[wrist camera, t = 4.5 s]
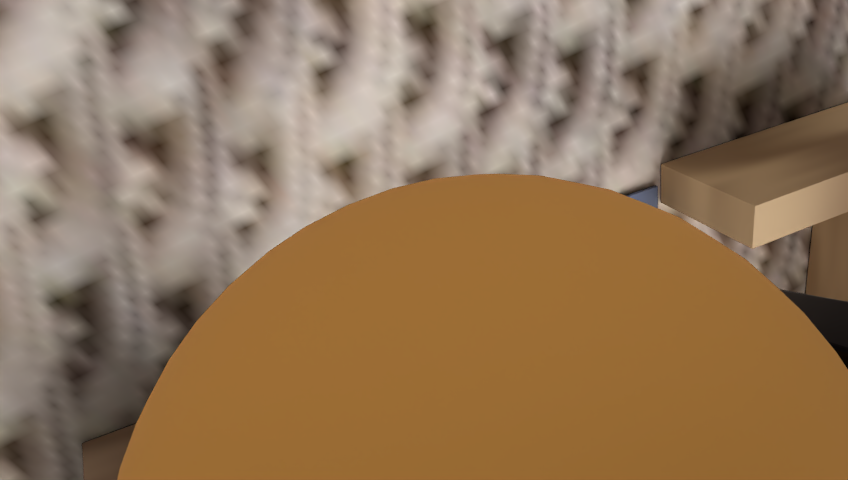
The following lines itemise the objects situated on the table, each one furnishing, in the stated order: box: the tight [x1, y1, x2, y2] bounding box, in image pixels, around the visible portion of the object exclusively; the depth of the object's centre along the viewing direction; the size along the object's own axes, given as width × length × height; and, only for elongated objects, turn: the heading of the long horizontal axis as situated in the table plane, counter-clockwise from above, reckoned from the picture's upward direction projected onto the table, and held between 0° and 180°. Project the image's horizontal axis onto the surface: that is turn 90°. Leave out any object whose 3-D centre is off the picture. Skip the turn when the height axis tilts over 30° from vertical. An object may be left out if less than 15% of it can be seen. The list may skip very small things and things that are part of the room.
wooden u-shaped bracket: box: [626, 102, 848, 301], centre depth 24 cm, size 9×14×5 cm, turn 8°
